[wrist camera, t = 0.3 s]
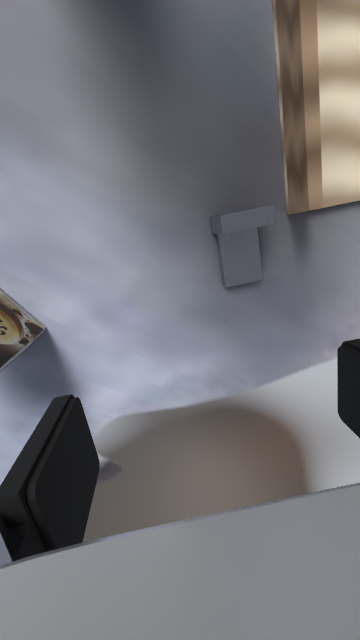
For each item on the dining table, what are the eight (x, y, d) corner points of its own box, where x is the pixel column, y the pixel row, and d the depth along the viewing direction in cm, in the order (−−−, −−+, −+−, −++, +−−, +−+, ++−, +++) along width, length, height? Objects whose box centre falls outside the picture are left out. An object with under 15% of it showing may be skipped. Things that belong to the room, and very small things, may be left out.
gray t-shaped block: (209, 217, 36) (220, 215, 31) (255, 208, 37) (274, 204, 31) (219, 286, 39) (231, 295, 33) (262, 277, 39) (280, 285, 34)
